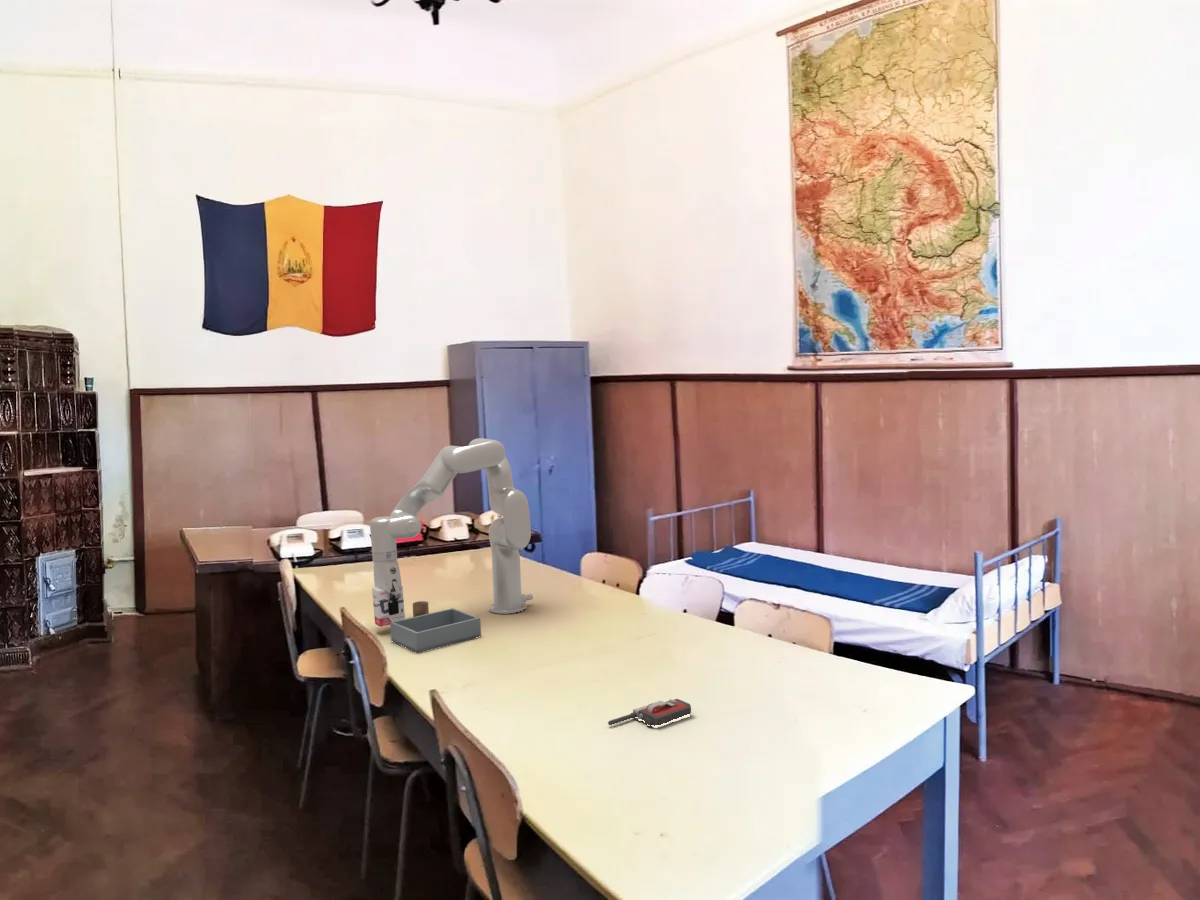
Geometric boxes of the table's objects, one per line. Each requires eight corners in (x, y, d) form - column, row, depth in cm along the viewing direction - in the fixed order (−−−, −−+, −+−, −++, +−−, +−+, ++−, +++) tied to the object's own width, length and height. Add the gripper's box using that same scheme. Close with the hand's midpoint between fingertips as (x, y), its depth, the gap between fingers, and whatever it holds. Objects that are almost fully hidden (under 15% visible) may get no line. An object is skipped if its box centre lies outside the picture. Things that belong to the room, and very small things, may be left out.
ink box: (379, 627, 272) (376, 590, 271) (374, 623, 276) (371, 587, 275) (405, 621, 276) (403, 585, 275) (400, 618, 281) (397, 582, 279)
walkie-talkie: (672, 706, 210) (605, 727, 198) (671, 688, 210) (605, 708, 198) (697, 717, 203) (629, 740, 191) (696, 698, 203) (629, 720, 191)
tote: (453, 626, 280) (452, 608, 280) (481, 637, 268) (480, 617, 268) (391, 641, 266) (390, 622, 265) (417, 653, 254) (416, 633, 253)
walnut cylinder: (424, 621, 287) (423, 600, 287) (432, 624, 284) (431, 603, 283) (410, 624, 284) (409, 603, 283) (418, 627, 280) (417, 606, 280)
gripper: (408, 557, 270) (413, 614, 272) (383, 550, 283) (387, 604, 285) (386, 562, 265) (391, 620, 267) (361, 554, 278) (366, 610, 280)
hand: (389, 611), depth 276 cm, fingers closed on ink box, 5 cm apart
